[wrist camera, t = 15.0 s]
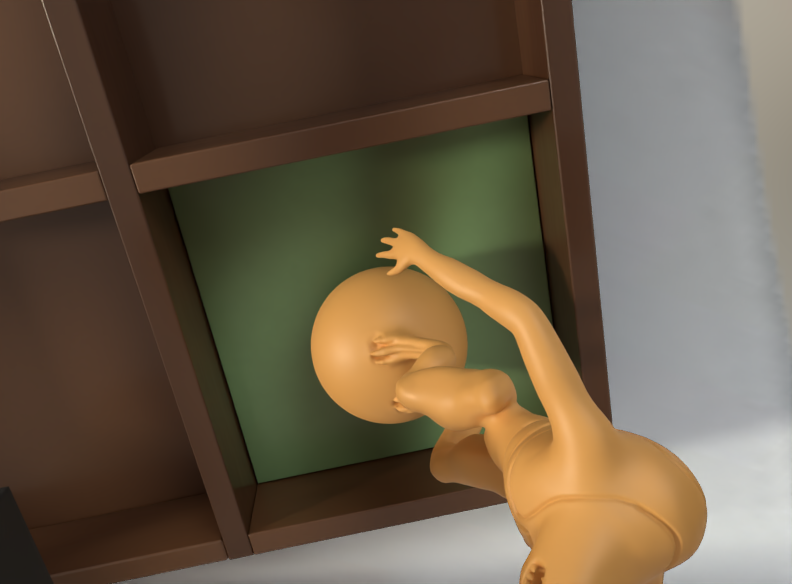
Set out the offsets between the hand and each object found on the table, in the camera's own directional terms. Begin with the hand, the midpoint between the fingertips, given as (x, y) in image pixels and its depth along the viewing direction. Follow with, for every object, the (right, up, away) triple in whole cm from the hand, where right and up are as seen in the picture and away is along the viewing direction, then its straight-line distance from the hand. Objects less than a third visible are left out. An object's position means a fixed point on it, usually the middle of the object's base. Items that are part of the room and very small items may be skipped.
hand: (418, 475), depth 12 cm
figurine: (0, +3, +8) cm, 9 cm away
